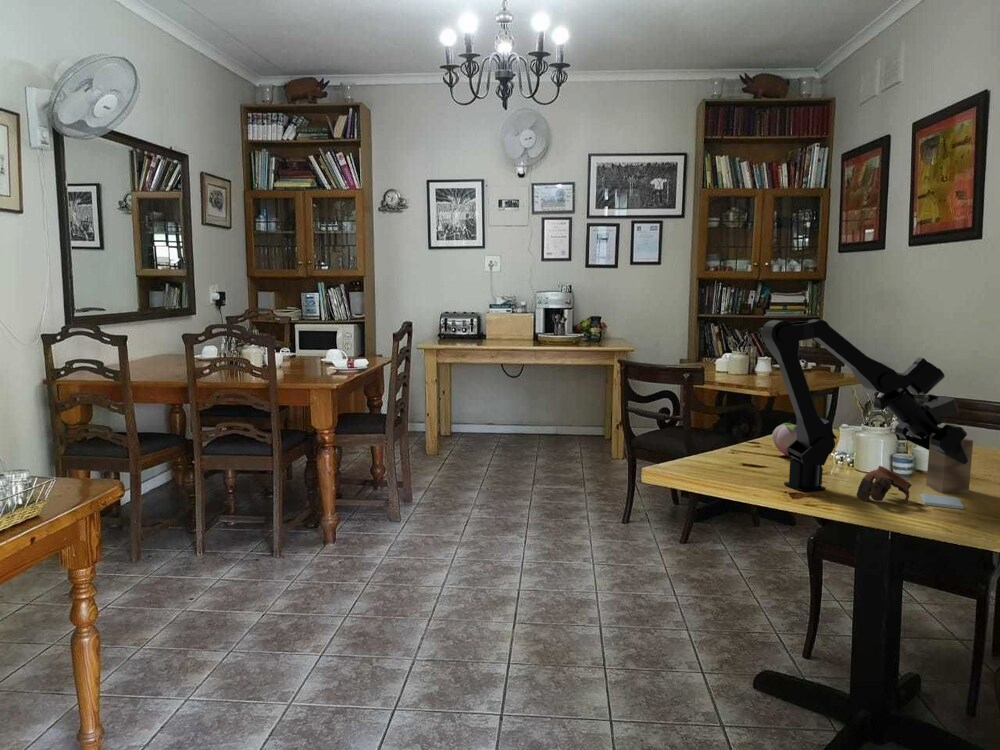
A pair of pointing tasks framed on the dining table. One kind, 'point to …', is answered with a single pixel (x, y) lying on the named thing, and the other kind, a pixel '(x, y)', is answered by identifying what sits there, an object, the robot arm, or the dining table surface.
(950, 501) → the slate-blue tile
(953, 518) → the dining table surface
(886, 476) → the brown curved piece
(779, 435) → the decorative fruit
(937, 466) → the walnut block
